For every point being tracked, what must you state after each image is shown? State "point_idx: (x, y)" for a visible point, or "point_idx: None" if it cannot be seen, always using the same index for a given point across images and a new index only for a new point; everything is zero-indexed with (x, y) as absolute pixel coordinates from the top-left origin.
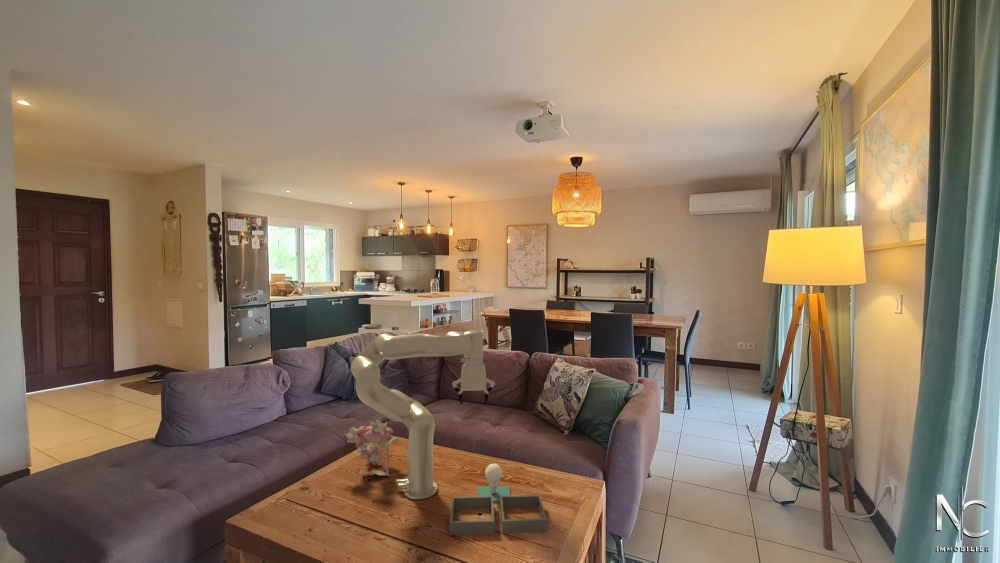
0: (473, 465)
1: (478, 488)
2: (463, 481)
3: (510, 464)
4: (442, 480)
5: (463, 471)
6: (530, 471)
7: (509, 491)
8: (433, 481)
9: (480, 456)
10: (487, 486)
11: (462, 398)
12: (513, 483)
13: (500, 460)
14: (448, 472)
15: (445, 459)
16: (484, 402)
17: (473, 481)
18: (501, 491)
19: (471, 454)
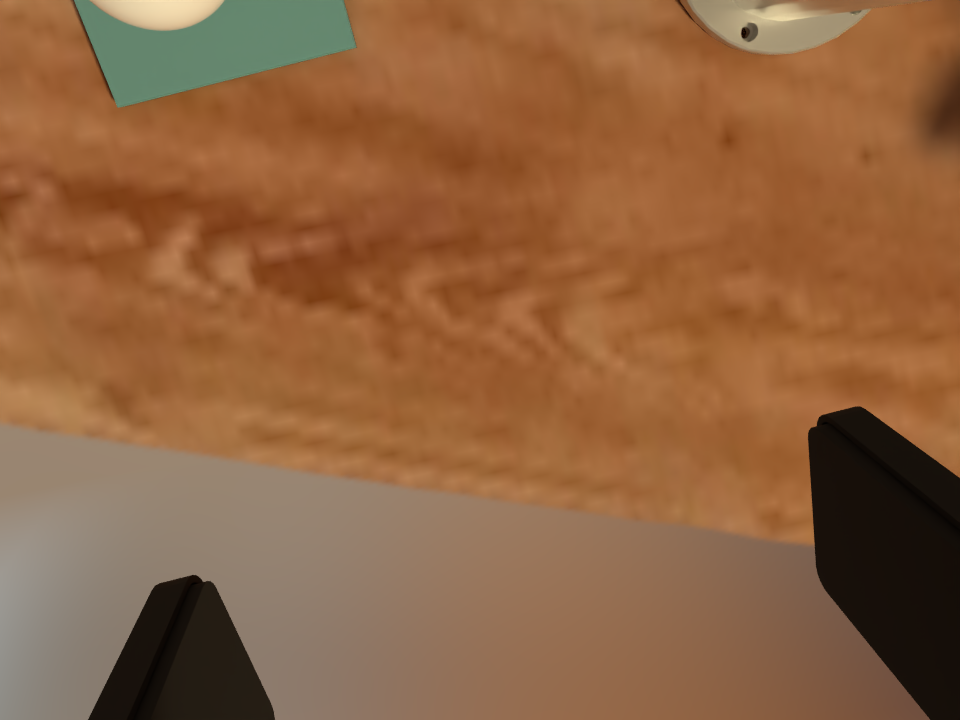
0: (479, 361)
1: (345, 15)
2: (494, 123)
3: (219, 431)
4: (653, 105)
5: (530, 265)
6: (40, 368)
7: (84, 17)
8: (716, 30)
9: (462, 488)
10: (283, 60)
11: (894, 561)
12: (108, 171)
13: (307, 467)
14: (634, 228)
15: (695, 397)
16: (245, 654)
17: (419, 138)
18: None
19: (531, 499)
